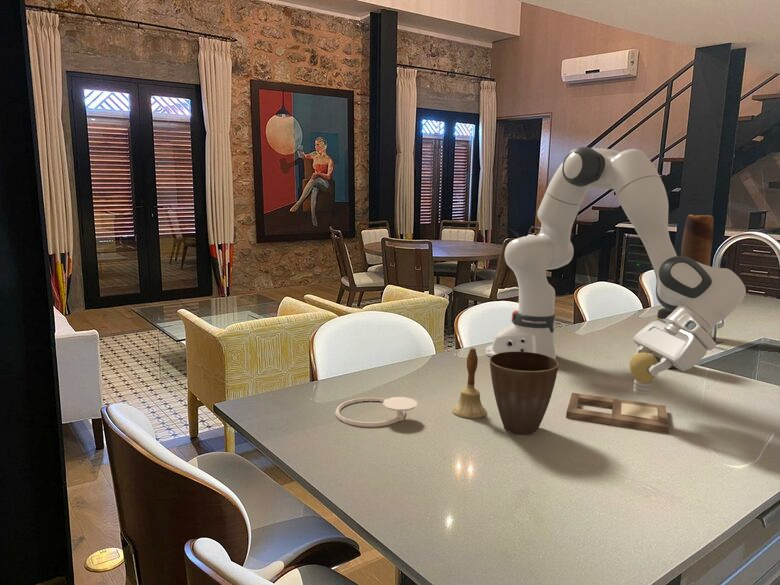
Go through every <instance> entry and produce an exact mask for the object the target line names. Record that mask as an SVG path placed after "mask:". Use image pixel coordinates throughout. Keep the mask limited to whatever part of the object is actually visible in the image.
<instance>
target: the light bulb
mask: <svg viewBox="0 0 780 585" xmlns="http://www.w3.org/2000/svg"><path fill="white" fill-rule="evenodd" d="M657 363H659V362H658V360H657V359H656V357H654V356H653V355H652V354H650V353H637V354H635V353H634V354H633V355H632V356H631V358H630V360H629V370H630V373H631V374H632V376H633V377H634V380H633V383H634V384H633V389H632V390H633V392H634V393H635V395H638V396H642V397H643V396H648V395H650V394H651V388H652V382H651V381H652V380H653V379H654V378H655V377H656V376H652V375H651V374H649V372H648V371H647V369H648V368H649V367H650V366H651V365H653V366H654V365H656V364H657Z"/></svg>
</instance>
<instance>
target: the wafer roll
mask: <svg viewBox="0 0 780 585" xmlns="http://www.w3.org/2000/svg"><path fill="white" fill-rule="evenodd" d="M682 234H683V236H682V239H681V247H680V248H681V249H680V256H686V257H689V258H692V259H693V260H695V261H696V262H699V263H701V264H704V265H707V266H710V267H711V259H712V258H711V256H712V255H711V253H712V248H713V247H712V246H713V242H714V241H713V238H714V217H713V215H711V214H704V215H703V214H701V215H695V214H688V215H687V218H686V221H685V224H684V229H683V233H682Z"/></svg>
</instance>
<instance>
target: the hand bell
mask: <svg viewBox="0 0 780 585" xmlns="http://www.w3.org/2000/svg"><path fill="white" fill-rule="evenodd" d="M478 360H479V358H478V354H477V350H476V347H475V348H474V347H471V348H470V349H469V351H468V353H467V356H466V370H467V383H466V387H465V388H462V389H461V391H460V395H459V396H460V397H459V400H458V402H457V403H456V405H454V406H453V408H452V409H451V411H452V413H453V414H454V415H456V416H457V417H460V418H463V417H465V419H480V418H481V419H482V418H484V417H486V415H487V414H488V413H487V409H486V408H485V407H484V405H482V401H481V394H480V393H481V392H480V390H478V389H477V388H476V387H475V375H476V371H477V368H478V363H479V361H478Z"/></svg>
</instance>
